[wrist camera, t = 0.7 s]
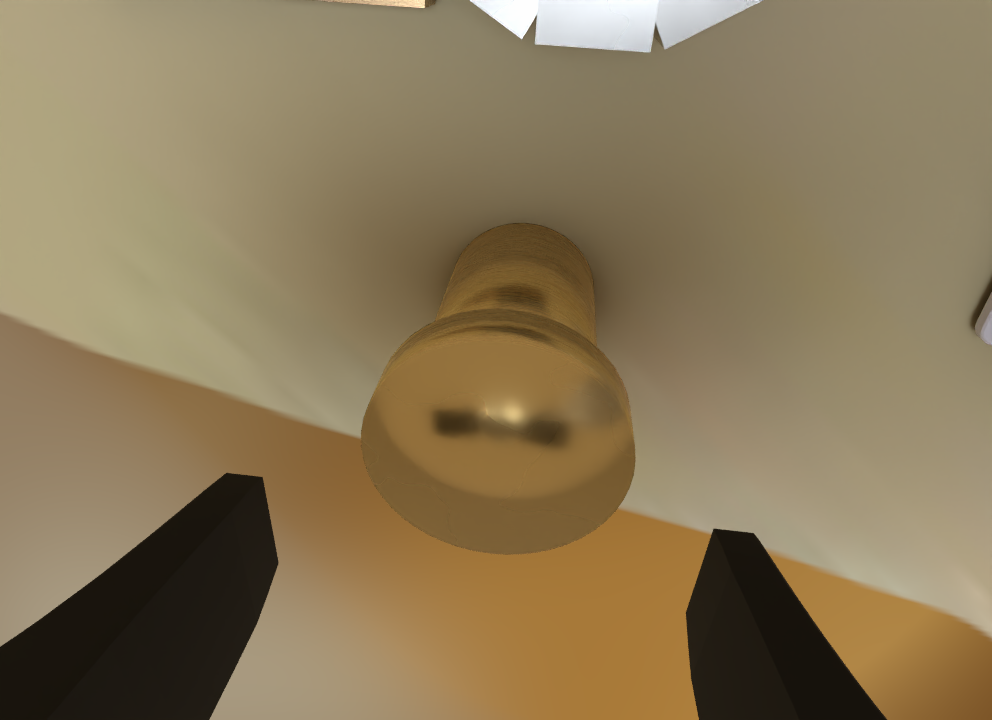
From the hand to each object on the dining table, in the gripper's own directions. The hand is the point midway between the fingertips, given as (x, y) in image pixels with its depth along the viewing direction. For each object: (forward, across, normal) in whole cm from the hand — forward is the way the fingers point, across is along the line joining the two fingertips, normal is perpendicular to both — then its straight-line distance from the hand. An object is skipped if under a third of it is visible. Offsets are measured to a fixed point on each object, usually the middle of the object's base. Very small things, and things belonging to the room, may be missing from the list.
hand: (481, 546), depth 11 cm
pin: (+9, 0, 0) cm, 9 cm away
